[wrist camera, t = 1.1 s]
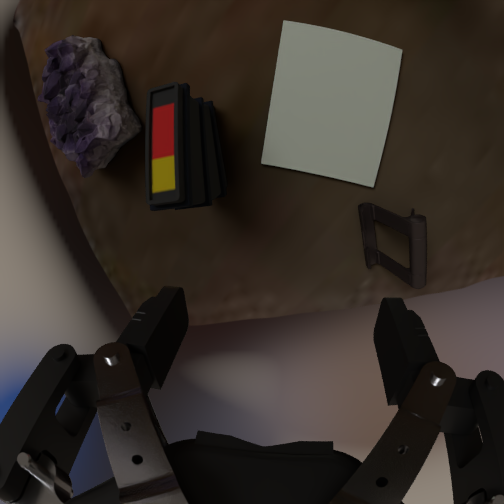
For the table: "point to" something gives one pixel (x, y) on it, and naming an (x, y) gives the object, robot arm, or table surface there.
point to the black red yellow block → (181, 150)
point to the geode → (86, 103)
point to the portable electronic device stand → (406, 225)
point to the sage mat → (330, 103)
